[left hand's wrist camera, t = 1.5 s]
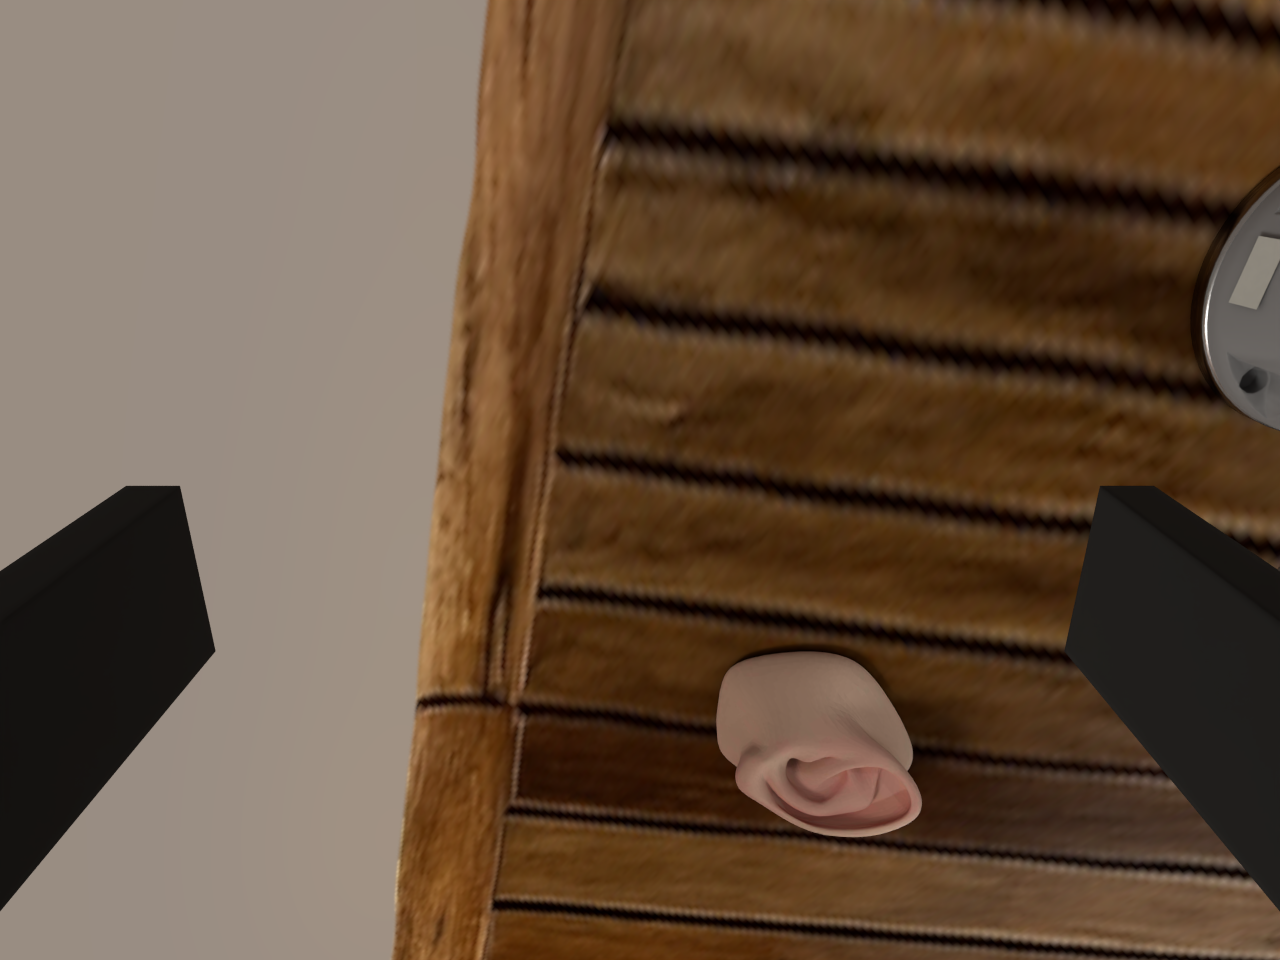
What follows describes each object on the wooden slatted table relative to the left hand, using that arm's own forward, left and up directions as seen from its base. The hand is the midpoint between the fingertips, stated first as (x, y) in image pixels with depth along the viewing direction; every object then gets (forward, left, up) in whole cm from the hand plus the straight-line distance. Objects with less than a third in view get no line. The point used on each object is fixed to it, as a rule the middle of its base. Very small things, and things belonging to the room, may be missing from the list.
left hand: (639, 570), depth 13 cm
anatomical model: (-13, +28, -34) cm, 46 cm away
